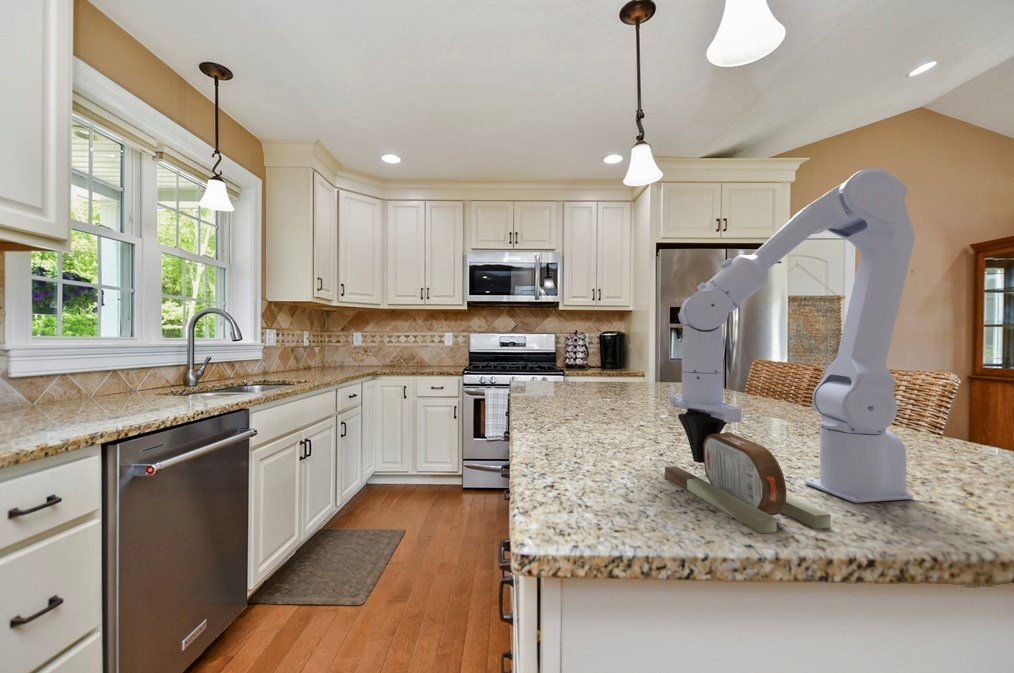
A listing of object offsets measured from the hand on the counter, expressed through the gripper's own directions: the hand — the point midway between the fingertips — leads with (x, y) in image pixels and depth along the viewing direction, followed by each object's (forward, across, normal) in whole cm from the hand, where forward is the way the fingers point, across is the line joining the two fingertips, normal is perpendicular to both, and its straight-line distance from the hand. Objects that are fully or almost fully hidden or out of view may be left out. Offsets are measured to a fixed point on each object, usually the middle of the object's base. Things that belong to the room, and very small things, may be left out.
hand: (702, 461), depth 65 cm
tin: (+3, +9, -1) cm, 9 cm away
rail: (+3, +7, 0) cm, 8 cm away
